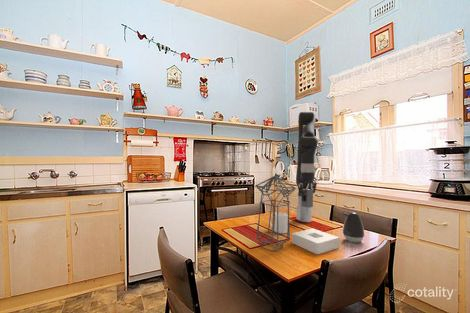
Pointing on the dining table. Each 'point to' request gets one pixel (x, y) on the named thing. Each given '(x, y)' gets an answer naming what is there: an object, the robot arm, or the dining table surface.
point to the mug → (280, 222)
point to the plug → (308, 199)
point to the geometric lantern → (274, 209)
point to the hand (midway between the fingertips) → (307, 200)
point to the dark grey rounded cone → (353, 228)
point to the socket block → (315, 241)
